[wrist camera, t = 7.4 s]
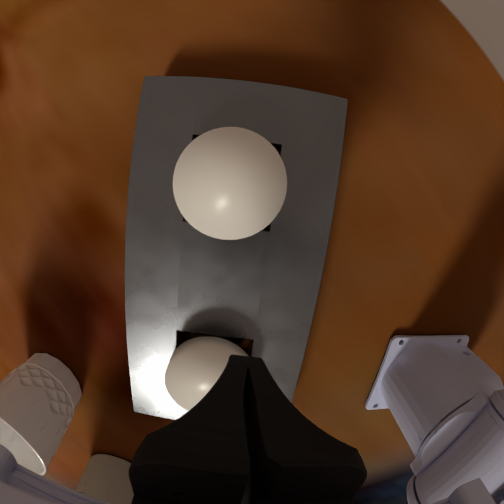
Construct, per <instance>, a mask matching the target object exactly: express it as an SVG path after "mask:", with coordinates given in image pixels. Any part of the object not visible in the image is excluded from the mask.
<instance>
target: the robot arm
mask: <svg viewBox="0 0 504 504" xmlns="http://www.w3.org/2000/svg"><path fill="white" fill-rule="evenodd" d="M401 340H402V341H401ZM400 341H401V342H400ZM399 342H400V343H399ZM468 342H469V337H468V336H467V335H438V336H401V335H396V336H394V337H392V338H391V340H390V342H389V345H388V348H387V351H386V354H385V356H384V359H383V362H382V364H381V367H380V370H379V372H378V375H377V377H376V380H375V382H374V385H373V387H372V390H371V392H370V394H369V397H368V399H367V401H366V404H365V407H366V409H367V410H373V409H385V408H389V409H390V411H391V413H392V415H393V416H394V418H395V420H396V422H397V424H398V426H399V427H400V429H401V431H402V433H403V435H404V437H405V438H406V440H407V442H408V444H409V446H410V448H411V450H412V451H413V453H414V455H415V457H416V459H415V460H414V461H413V462H412V463H411V464H410V467H411V469H412V471H413V473H414V476H413V477H411V479H410V480H409V482H408V485H407V500H408V504H504V488H503V487H504V386H503V383H502V381H501V379H500V377H499V376H498V375H497V374H496V373H495V372H494V371H493V370H492V369H491V368H490V367H489V366H488V365H487V364H486V363H485V362H483V361H482V360H481V359H480V358H479V357H478V356H477V355H476V354H475V353H474V352H473V351H471V350H470V349H469V348H468V347H467V344H468ZM375 404H376V405H375ZM366 478H367V471H366V468H365V465H364V463H363V460H362V458H361V456H360V454H359V453H358V450H357V449H356V448H354V447H351V446H349V445H347V444H345V443H343V442H341V441H339V440H337V439H335V438H334V437H332V436H330V435H329V434H327V433H326V432H324V431H323V430H321V429H320V428H318V427H317V426H316V425H314V424H313V423H312V422H311V421H309V420H308V419H307V418H306V417H305V416H304V415H302V414H301V413H300V412H299V411H298V410H297V409H296V408H295V407H294V405H293V404H292V403H291V402H290V401H289V400H288V398H287V397H286V396H285V395H284V393H283V392H282V391H281V389H280V388H279V386H278V385H277V383H276V382H275V380H274V379H273V377H272V375H271V374H270V372H269V370H268V368H267V366H266V365H265V362H264V360H263V359H262V358H259V357H250V356H241V355H233V354H232V355H230V356H229V360H228V363H227V365H226V367H225V369H224V371H223V372H222V374H221V375H220V377H219V379H218V380H217V382H216V383H215V384H214V385H213V387H212V388H211V389H210V391H209V392H208V393H207V394H206V395H205V396H204V397H203V398H202V399H201V400H200V401H199V402H198V403H197V404H196V405H195V406H194V407H193V408H191V409H190V410H189V411H188V412H187V413H185V414H184V415H183V416H181V417H180V418H178V419H176V420H175V421H173V422H172V423H170V424H169V425H167V426H165V427H163V428H161V429H159V430H157V431H155V432H153V433H150V434H148V435H147V436H146V437H145V439H144V440H143V441H142V443H141V444H140V446H139V447H138V449H137V451H136V453H135V455H134V457H133V459H132V462H131V465H130V468H129V479H130V483H131V486H132V490H133V493H134V496H133V499H132V503H131V504H355V503H354V499H353V496H354V495H355V494H356V492H357V491H358V490H359V489H360V487H361V486H362V485H363V483H364V481H365V480H366ZM502 488H503V489H502ZM501 489H502V490H501ZM500 490H501V491H500ZM498 491H500V492H498ZM497 492H498V493H497ZM496 493H497V494H496ZM495 494H496V495H495ZM494 495H495V496H494ZM493 496H494V497H493ZM492 497H493V498H492ZM0 504H110V503H107V502H104V501H101V500H98V499H95V498H93V497H90V496H87V495H84V494H82V493H79V492H77V491H74V490H72V489H69V488H67V487H65V486H62V485H60V484H58V483H55V482H53V481H51V480H49V479H47V478H45V477H43V476H41V475H39V474H37V473H35V472H33V471H31V470H29V469H27V468H25V467H23V466H21V465H20V464H18V463H17V461H16V459H15V457H14V455H13V454H12V453H11V452H10V451H9V450H8V449H7V448H6V447H4V446H3V445H1V444H0Z"/></svg>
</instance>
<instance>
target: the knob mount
mask: <svg viewBox="0 0 504 504" xmlns="http://www.w3.org/2000/svg"><path fill="white" fill-rule="evenodd" d="M347 103H348V99H345V98H341V97H337V96H333V95H328V94H324V93H319V92H314V91H309V90H304V89H298V88H293V87H287V86H281V85H274V84H267V83H260V82H252V81H243V80H233V79H222V78H208V77H188V76H145V77H144V82H143V87H142V92H141V98H140V103H139V109H138V115H137V122H136V128H135V135H134V143H133V151H132V159H131V168H130V178H129V189H128V202H127V218H126V241H125V310H126V332H127V348H128V361H129V372H130V382H131V391H132V399H133V406H134V412H138V413H143V414H147V415H152V416H157V417H163V418H168V419H174V420H176V419H178V418H180V417H181V416H183V415H184V414H185V413H187V412H188V411H187V410H185V409H184V408H182V407H181V406H179V405H178V404H177V403H176V402H175V401H174V400H173V399H172V398H171V396H170V395H169V393H168V391H167V389H166V386H165V372H166V369H167V366H168V364H169V361H170V358H171V356H172V354H173V352H174V351H175V349H176V348H177V347H178V346H180V345H181V344H182V343H183V335H184V331H187V332H194V333H201V334H209V335H217V336H225V337H234V338H243V339H250V341H249V347H248V354H247V355H248V356H250V357H259V358H262V359H263V360H264V362H265V365H266V366H267V368H268V370H269V372H270V374H271V375H272V377H273V379H274V380H275V382H276V383H277V385H278V386H279V388H280V389H281V391H282V392H283V393H284V395H285V396H286V397H287V398H288V400H289V401H290V402H292V398H293V395H294V391H295V388H296V384H297V380H298V376H299V373H300V369H301V365H302V361H303V357H304V353H305V349H306V345H307V341H308V337H309V332H310V328H311V324H312V319H313V315H314V311H315V306H316V301H317V297H318V292H319V287H320V282H321V277H322V272H323V267H324V262H325V257H326V252H327V246H328V241H329V235H330V229H331V224H332V218H333V212H334V205H335V199H336V192H337V186H338V179H339V172H340V164H341V157H342V149H343V141H344V132H345V123H346V113H347ZM221 127H239V128H244V129H248V130H251V131H253V132H255V133H257V134H259V135H261V136H262V137H264V138H265V139H266V140H267V141H269V142H270V143H271V144H272V145H273V147H274V148H275V149H277V152H278V153H279V155H280V157H281V159H282V161H283V163H284V166H285V170H286V175H287V191H286V196H285V200H284V203H283V205H282V207H281V209H280V211H279V213H278V214H277V216H276V217H275V218H274V220H273V221H272V222H271V223H270V224H269V225H268V226H267V227H265V228H264V229H263V230H261V231H260V232H258V233H256V234H254V235H252V236H249V237H246V238H242V239H237V240H222V239H217V238H213V237H210V236H207V235H205V234H203V233H201V232H200V231H198V230H197V229H195V228H194V227H193V226H192V225H190V224H189V223H188V221H187V220H186V219H185V218H184V217H183V215H182V214H181V212H180V210H179V208H178V206H177V204H176V201H175V197H174V193H173V175H174V170H175V167H176V163H177V161H178V159H179V157H180V155H181V154H182V152H183V151H184V149H185V148H186V147H187V146H188V145H189V144H190V143H191V142H192V141H193V140H194V139H195V138H197V137H198V136H200V135H201V134H203V133H205V132H207V131H210V130H213V129H216V128H221Z"/></svg>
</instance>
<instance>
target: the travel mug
mask: <svg viewBox="0 0 504 504" xmlns="http://www.w3.org/2000/svg"><path fill="white" fill-rule="evenodd" d="M130 465H131V463H130V462H128V461H126V460H123V459H120V458H118V457H114V456H111V455H105V454H97V455H93V456H92V457H91V458H90V460H89V462H88V464H87V466H86V469H85V471H84V473H83V475H82V477H81V480H80V482H79V484H78V486H77V489H76V491H77V492H79V493H82V494H84V495H87V496H90V497H93V498H95V499H98V500H101V501H104V502H107V503H110V504H131V503H132V499H133V496H134V493H133V490H132V486H131V483H130V479H129V468H130Z"/></svg>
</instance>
